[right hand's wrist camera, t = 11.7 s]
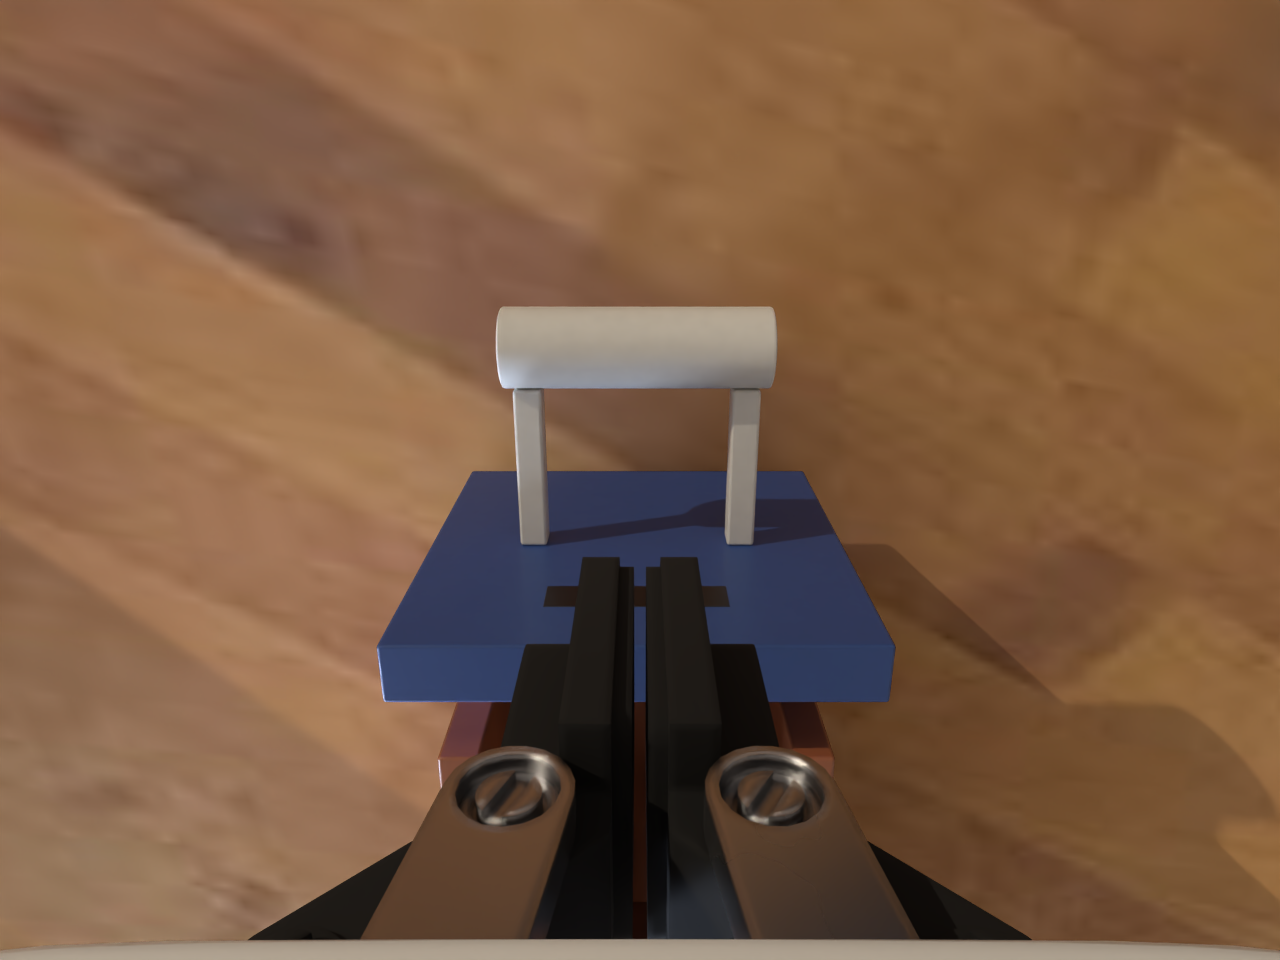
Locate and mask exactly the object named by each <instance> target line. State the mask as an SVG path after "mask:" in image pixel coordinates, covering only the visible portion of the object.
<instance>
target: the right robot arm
mask: <svg viewBox="0 0 1280 960" xmlns="http://www.w3.org/2000/svg"><path fill="white" fill-rule="evenodd" d="M634 739H635V714H634V567H620V557H583V558H582V564H581V571H580V578H579V584H578V591H577V598H576V605H575V612H574V619H573V626H572V632H571V639H570V644H526V645H525V648H524V651H523V656H522V660H521V664H520V668H519V672H518V677H517V681H516V685H515V689H514V693H513V697H512V702H511V706H510V710H509V714H508V718H507V723H506V727H505V731H504V735H503V739H502V744H501V747H500V748H495V749H491V750H487V751H484V752H482V753H480V754H477V755H475V756H473V757H470V758H469V759H467V760H466V761H465V762H463V763H462V764H460V765H459V766H458V767H456V768H455V769H454V770H453V772H452V773H451V774H450V775H449V777H448V778H447V779H446V781H445V782H444V784H443V786H442V788H441V789H440V791H439V793H438V795H437V797H436V799H435V801H434V802H433V804H432V806H431V808H430V810H429V812H428V814H427V816H426V817H425V819H424V821H423V823H422V825H421V827H420V829H419V830H418V832H417V834H416V836H415V838H414V840H413V841H412V842H410V843H408V844H407V845H405V846H403V847H402V848H400V849H398V850H397V851H395V852H393V853H392V854H390V855H388V856H386V857H385V858H383V859H381V860H380V861H378V862H376V863H375V864H373V865H371V866H370V867H368V868H366V869H365V870H363V871H361V872H360V873H358V874H356V875H355V876H353V877H351V878H350V879H348V880H346V881H345V882H343V883H341V884H340V885H338V886H336V887H334V888H333V889H331V890H329V891H328V892H326V893H324V894H323V895H321V896H319V897H318V898H316V899H314V900H313V901H311V902H309V903H308V904H306V905H304V906H303V907H301V908H299V909H298V910H296V911H294V912H293V913H291V914H289V915H288V916H286V917H284V918H283V919H281V920H279V921H277V922H276V923H274V924H272V925H271V926H269V927H267V928H266V929H264V930H262V931H261V932H259V933H257V934H256V935H254V936H253V937H251V938H250V939H248V940H215V941H149V942H122V943H96V944H70V945H45V946H36V947H27V948H18V949H9V950H0V960H1280V950H1271V949H1262V948H1253V947H1244V946H1235V945H1210V944H1184V943H1158V942H1131V941H1065V940H1032V939H1030V938H1029V937H1027V936H1026V935H1024V934H1023V933H1021V932H1019V931H1018V930H1016V929H1014V928H1013V927H1011V926H1009V925H1008V924H1006V923H1004V922H1003V921H1001V920H999V919H997V918H996V917H994V916H992V915H991V914H989V913H987V912H986V911H984V910H982V909H981V908H979V907H977V906H976V905H974V904H972V903H971V902H969V901H967V900H966V899H964V898H962V897H961V896H959V895H957V894H956V893H954V892H952V891H951V890H949V889H947V888H946V887H944V886H942V885H940V884H939V883H937V882H935V881H934V880H932V879H930V878H929V877H927V876H925V875H924V874H922V873H920V872H919V871H917V870H915V869H914V868H912V867H910V866H909V865H907V864H905V863H904V862H902V861H900V860H899V859H897V858H895V857H894V856H892V855H890V854H888V853H887V852H885V851H883V850H882V849H880V848H878V847H877V846H875V845H873V844H872V843H870V842H868V841H867V840H866V838H865V836H864V834H863V832H862V830H861V829H860V827H859V825H858V823H857V821H856V819H855V817H854V816H853V814H852V812H851V810H850V808H849V806H848V804H847V802H846V801H845V799H844V797H843V795H842V793H841V791H840V789H839V788H838V786H837V784H836V782H835V781H834V779H833V778H832V777H831V775H830V774H829V773H828V772H827V770H826V769H825V768H824V767H822V766H821V765H820V764H818V763H817V762H815V761H814V760H813V759H811V758H810V757H807V756H805V755H803V754H800V753H798V752H796V751H793V750H789V749H785V748H780V747H779V744H778V739H777V735H776V731H775V727H774V723H773V718H772V714H771V710H770V706H769V702H768V697H767V693H766V689H765V685H764V681H763V677H762V672H761V668H760V664H759V660H758V656H757V651H756V648H755V645H754V644H710V639H709V632H708V626H707V619H706V612H705V605H704V598H703V591H702V584H701V578H700V571H699V564H698V558H697V557H660V567H646V714H645V739H646V848H647V939H633V848H634Z"/></svg>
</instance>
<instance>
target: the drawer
mask: <svg viewBox="0 0 1280 960" xmlns="http://www.w3.org/2000/svg"><path fill="white" fill-rule="evenodd" d="M496 358H497V368H498V375H499V379H500V383H501V385H502V387H503V388H515V389H514V391H513V408H514V426H515V445H516V464H517V471H474V472H472V473H471V475H470V477H469V479H468V481H467V483H466V484H465V486H464V488H463V490H462V492H461V494H460V495H459V497H458V499H457V501H456V503H455V504H454V506H453V508H452V510H451V512H450V514H449V515H448V517H447V519H446V521H445V523H444V525H443V526H442V528H441V530H440V532H439V534H438V536H437V537H436V539H435V541H434V543H433V545H432V547H431V548H430V550H429V552H428V554H427V556H426V558H425V559H424V561H423V563H422V565H421V567H420V568H419V570H418V572H417V574H416V576H415V578H414V579H413V581H412V583H411V585H410V587H409V589H408V590H407V592H406V594H405V596H404V598H403V600H402V601H401V603H400V605H399V607H398V609H397V611H396V612H395V614H394V616H393V618H392V620H391V621H390V623H389V625H388V627H387V629H386V631H385V632H384V634H383V636H382V638H381V640H380V642H379V643H378V645H377V652H378V660H379V669H380V677H381V685H382V693H383V700H384V701H385V702H457V704H456V707H455V710H454V713H453V716H452V719H451V722H450V725H449V728H448V731H447V733H446V736H445V739H444V742H443V745H442V748H441V751H440V754H439V757H438V766H439V776H440V786H441V788H442V786H443V784H444V782H445V781H446V779H447V778H448V777H449V775H450V774H451V773H452V772H453V770H454V769H455V768H456V767H458V766H459V765H460V764H462V763H463V762H465V761H466V760H467V759H469V758H470V757H473V756H475V755H477V754H480V753H482V752H484V751H487V750H491V749H495V748H500V747H501V744H502V739H503V735H504V731H505V727H506V723H507V718H508V714H509V710H510V706H511V702H512V697H513V693H514V689H515V685H516V681H517V677H518V672H519V668H520V664H521V660H522V656H523V651H524V648H525V645H526V644H570V639H571V632H572V626H573V619H574V612H575V605H576V598H577V591H578V584H579V578H580V571H581V564H582V558H583V557H620V567H634V714H635V739H634V848H633V939H647V848H646V739H645V714H646V567H660V557H697V558H698V564H699V571H700V578H701V584H702V591H703V598H704V605H705V612H706V619H707V626H708V632H709V639H710V644H754V645H755V648H756V651H757V656H758V660H759V664H760V668H761V672H762V677H763V681H764V685H765V689H766V693H767V697H768V702H769V706H770V710H771V714H772V718H773V723H774V727H775V731H776V735H777V739H778V744H779V747H780V748H785V749H789V750H793V751H796V752H798V753H800V754H803V755H805V756H807V757H810V758H811V759H813V760H814V761H815V762H817V763H818V764H820V765H821V766H822V767H824V768H825V769H826V770H827V772H828V773H829V774H830V775H831V777H832V778H833V774H834V764H835V758H834V755H833V752H832V749H831V746H830V743H829V739H828V736H827V733H826V730H825V727H824V724H823V721H822V718H821V715H820V712H819V709H818V706H817V703H816V702H888V701H889V698H890V690H891V681H892V673H893V665H894V656H895V648H896V647H895V645H894V643H893V641H892V639H891V637H890V635H889V633H888V631H887V629H886V628H885V626H884V624H883V622H882V620H881V618H880V616H879V614H878V612H877V611H876V609H875V607H874V605H873V603H872V601H871V599H870V597H869V595H868V594H867V592H866V590H865V588H864V586H863V584H862V582H861V580H860V578H859V577H858V575H857V573H856V571H855V569H854V567H853V565H852V563H851V561H850V560H849V558H848V556H847V554H846V552H845V550H844V548H843V546H842V544H841V543H840V541H839V539H838V537H837V535H836V533H835V531H834V529H833V527H832V526H831V524H830V522H829V520H828V518H827V516H826V514H825V512H824V510H823V509H822V507H821V505H820V503H819V501H818V499H817V497H816V495H815V493H814V492H813V490H812V488H811V486H810V484H809V482H808V480H807V478H806V476H805V475H804V473H803V472H802V471H757V461H758V442H759V422H760V402H761V392H760V390H759V388H770V387H771V386H772V384H773V381H774V377H775V371H776V362H777V323H776V316H775V312H774V309H773V308H772V307H502V308H500V310H499V313H498V318H497V327H496ZM544 388H730V405H729V432H728V459H727V471H547V458H546V434H545V409H544Z"/></svg>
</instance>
